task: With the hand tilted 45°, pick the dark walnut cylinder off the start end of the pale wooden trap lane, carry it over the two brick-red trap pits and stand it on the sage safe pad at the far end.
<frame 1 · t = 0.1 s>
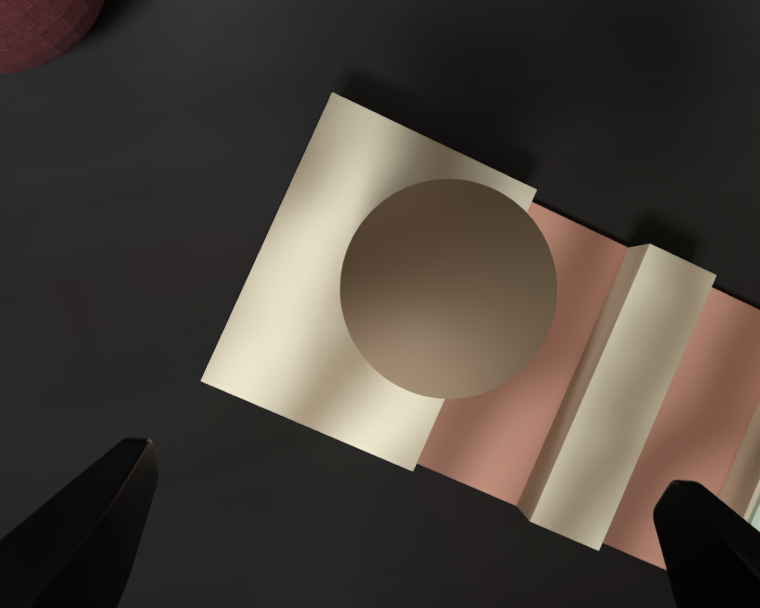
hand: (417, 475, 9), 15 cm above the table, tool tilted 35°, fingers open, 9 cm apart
decorative ball: (34, 1, 23), on the table
walnut cylinder: (400, 295, 22), point 2 cm above the table, touching trap lane
trap lane: (395, 296, 24), on the table
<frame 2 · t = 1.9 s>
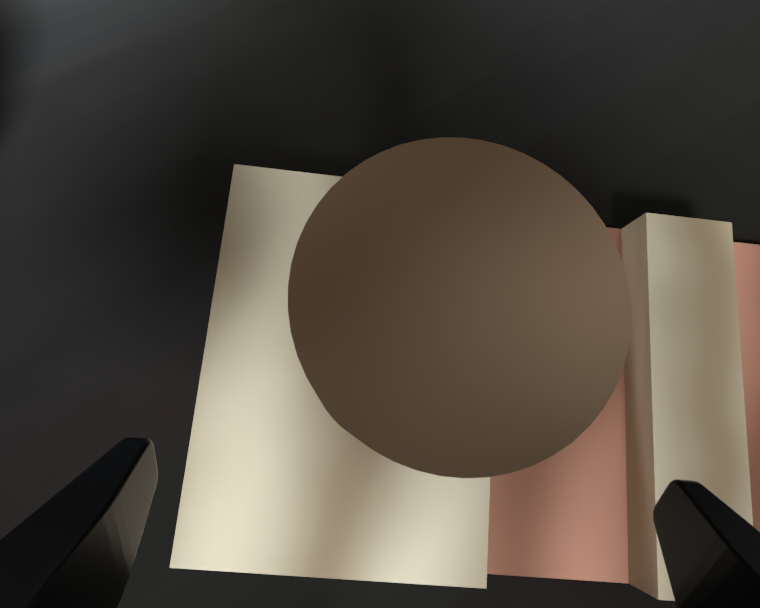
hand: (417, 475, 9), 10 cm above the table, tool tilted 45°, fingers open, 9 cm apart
walnut cylinder: (389, 365, 17), point 2 cm above the table, touching trap lane
trap lane: (384, 371, 19), on the table
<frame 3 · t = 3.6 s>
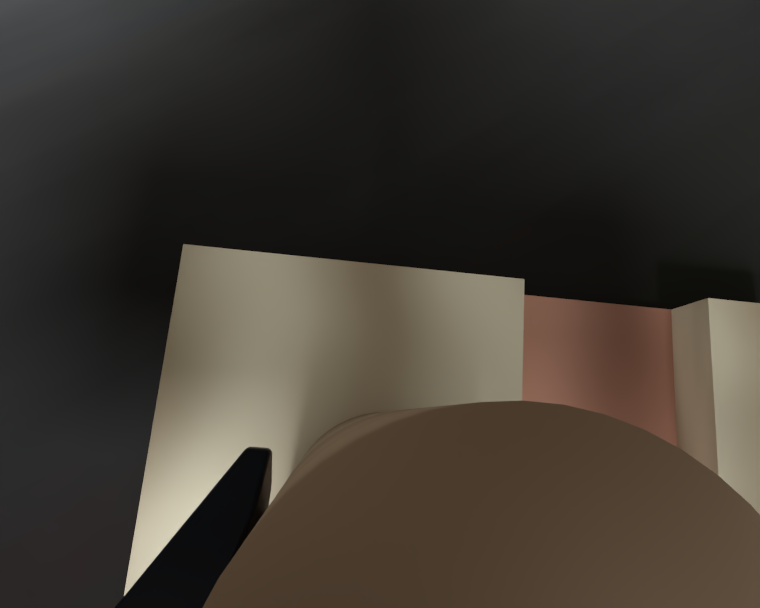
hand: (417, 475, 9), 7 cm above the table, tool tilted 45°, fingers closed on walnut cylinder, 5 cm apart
walnut cylinder: (384, 513, 13), point 2 cm above the table, touching gripper, trap lane
trap lane: (377, 500, 15), on the table
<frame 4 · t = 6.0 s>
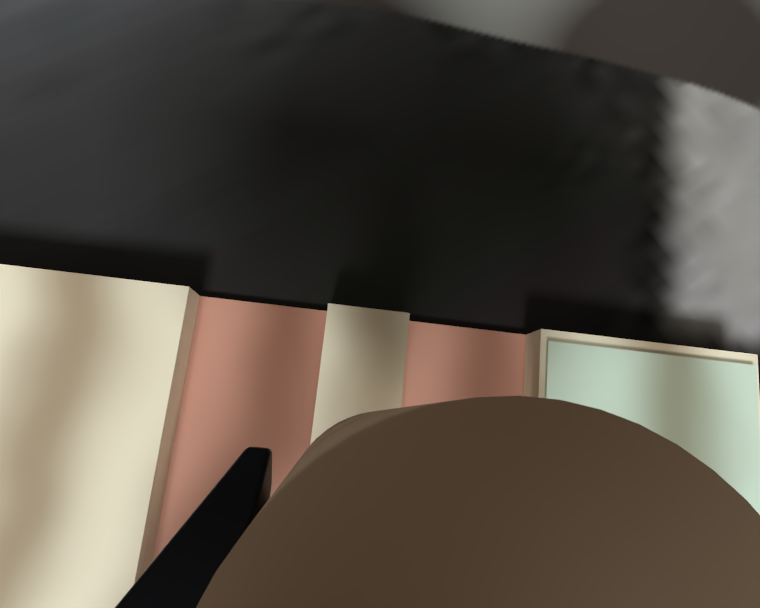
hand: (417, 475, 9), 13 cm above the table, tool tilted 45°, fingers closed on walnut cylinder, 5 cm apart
walnut cylinder: (383, 511, 13), point 9 cm above the table, touching gripper
trap lane: (85, 443, 21), on the table
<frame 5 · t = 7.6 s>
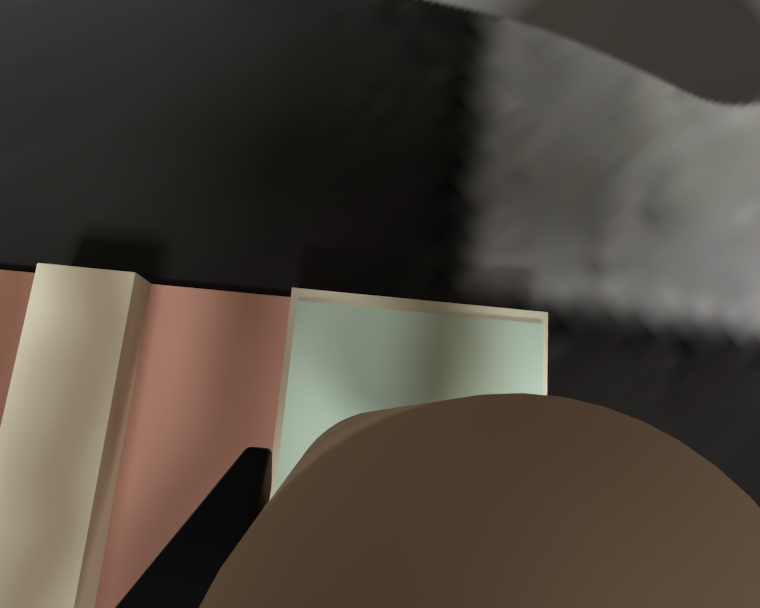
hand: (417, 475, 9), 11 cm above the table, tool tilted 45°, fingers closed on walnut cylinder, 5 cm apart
walnut cylinder: (384, 511, 13), point 7 cm above the table, touching gripper
when the fingers open (7 cm above the table, at t = 8.7 s): walnut cylinder stays where it is, resting on trap lane.
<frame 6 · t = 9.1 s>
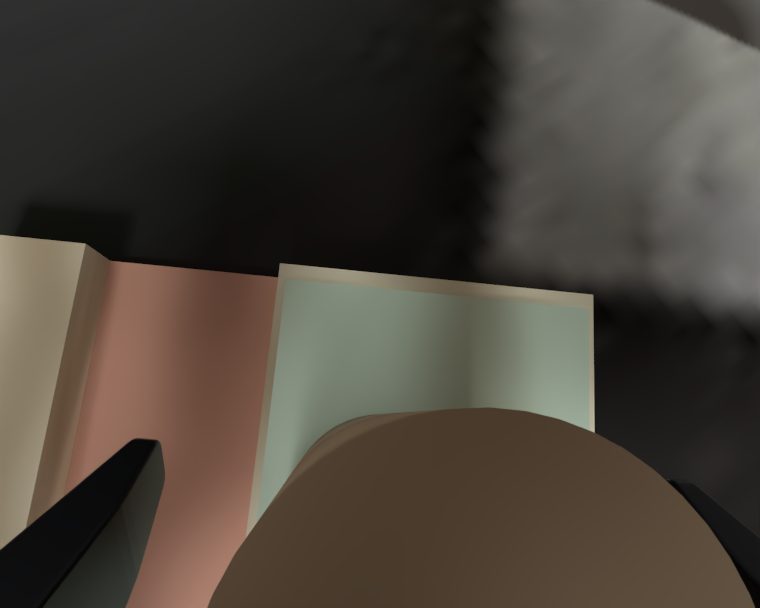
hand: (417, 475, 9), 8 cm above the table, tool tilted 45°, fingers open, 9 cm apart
walnut cylinder: (380, 510, 14), point 2 cm above the table, touching trap lane
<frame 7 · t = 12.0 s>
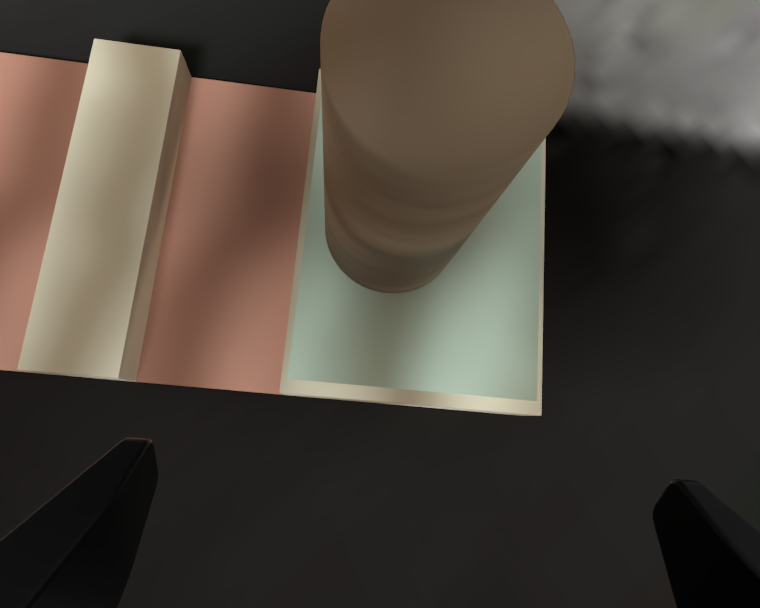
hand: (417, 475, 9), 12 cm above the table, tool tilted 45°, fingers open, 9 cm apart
walnut cylinder: (391, 229, 20), point 2 cm above the table, touching trap lane
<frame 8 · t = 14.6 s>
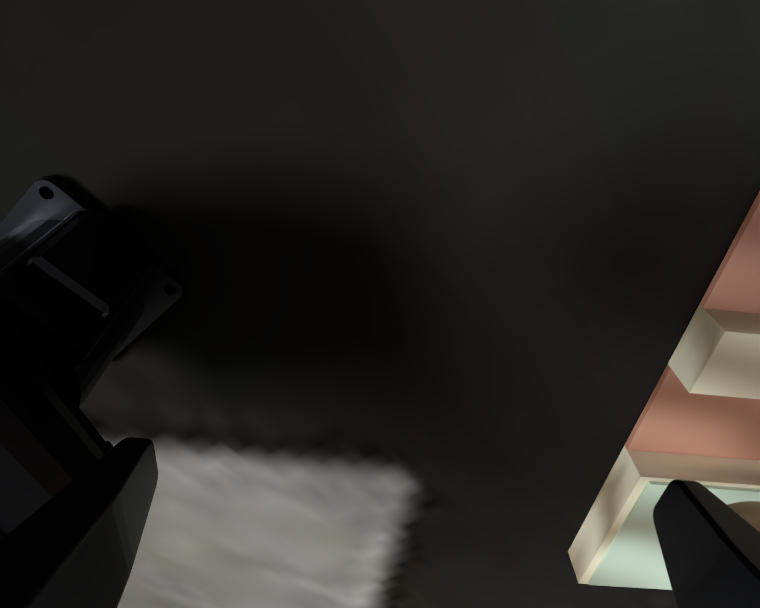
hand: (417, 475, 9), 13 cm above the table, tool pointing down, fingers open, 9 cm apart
walnut cylinder: (733, 531, 28), point 2 cm above the table, touching trap lane
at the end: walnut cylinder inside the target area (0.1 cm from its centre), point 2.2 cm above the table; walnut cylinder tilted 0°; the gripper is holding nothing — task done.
